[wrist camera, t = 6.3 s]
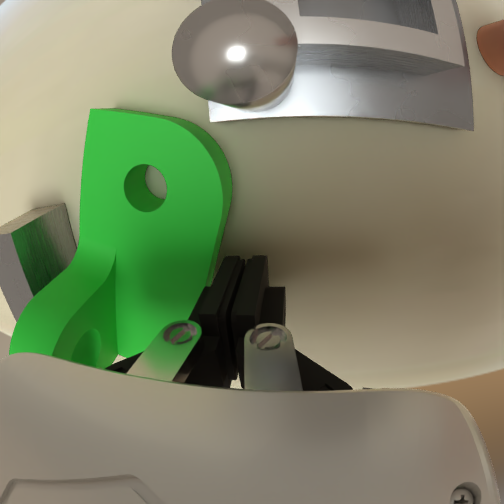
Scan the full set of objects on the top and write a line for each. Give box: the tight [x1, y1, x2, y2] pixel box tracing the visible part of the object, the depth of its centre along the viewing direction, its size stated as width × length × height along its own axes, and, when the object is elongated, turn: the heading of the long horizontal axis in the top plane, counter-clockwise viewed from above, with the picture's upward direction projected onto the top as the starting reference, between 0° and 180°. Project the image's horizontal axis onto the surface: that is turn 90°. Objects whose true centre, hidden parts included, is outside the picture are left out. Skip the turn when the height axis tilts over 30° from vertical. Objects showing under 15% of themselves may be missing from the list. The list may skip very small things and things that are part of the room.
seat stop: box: [0, 204, 77, 322], centre depth 12 cm, size 3×8×4 cm, turn 5°
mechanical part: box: [9, 108, 232, 369], centre depth 9 cm, size 12×6×8 cm, turn 165°
